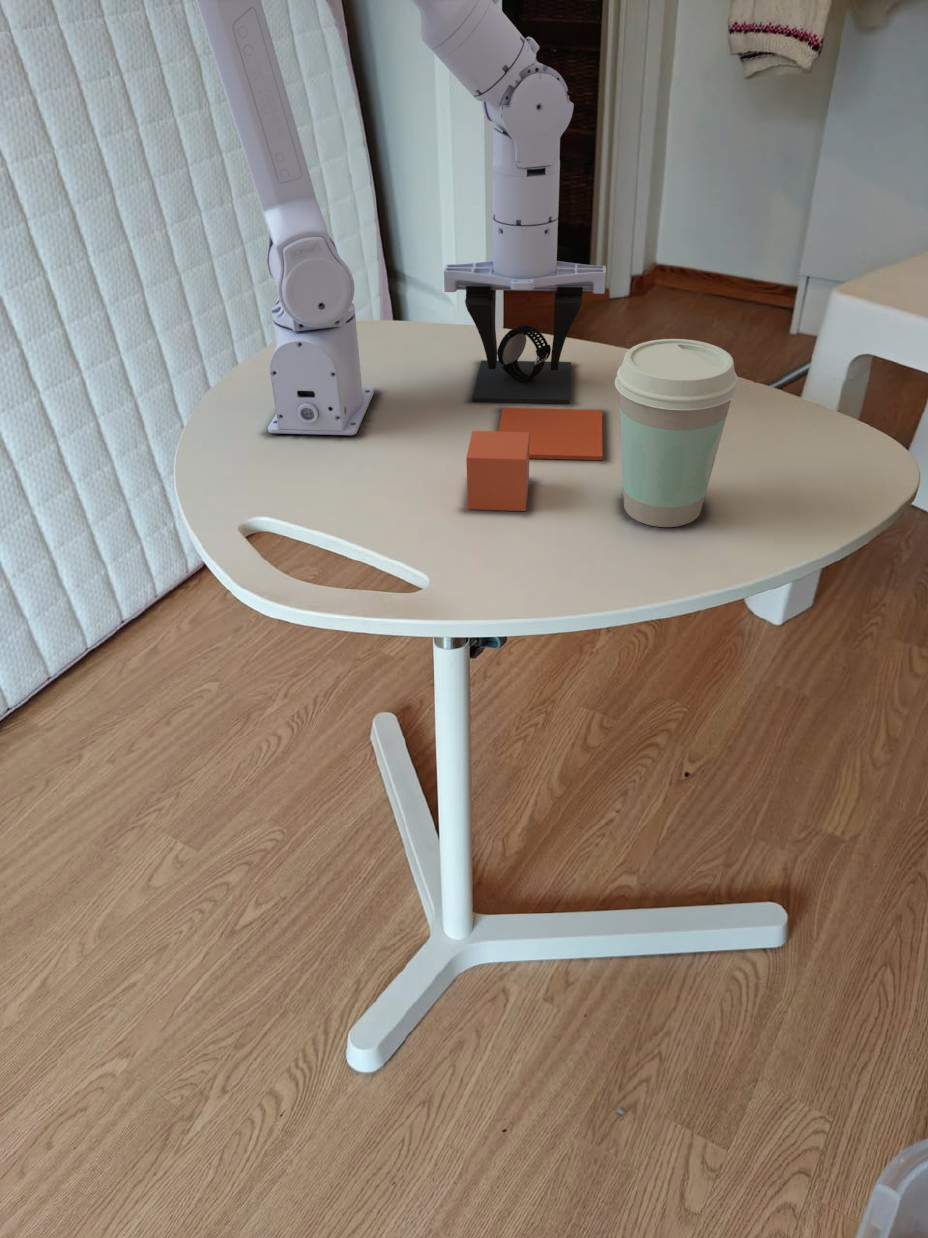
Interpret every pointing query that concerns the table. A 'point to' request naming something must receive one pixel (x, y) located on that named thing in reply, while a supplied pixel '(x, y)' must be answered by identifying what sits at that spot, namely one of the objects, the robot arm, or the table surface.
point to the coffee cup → (671, 426)
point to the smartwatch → (514, 348)
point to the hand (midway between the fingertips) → (523, 365)
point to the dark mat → (523, 384)
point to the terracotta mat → (557, 432)
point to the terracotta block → (498, 470)
